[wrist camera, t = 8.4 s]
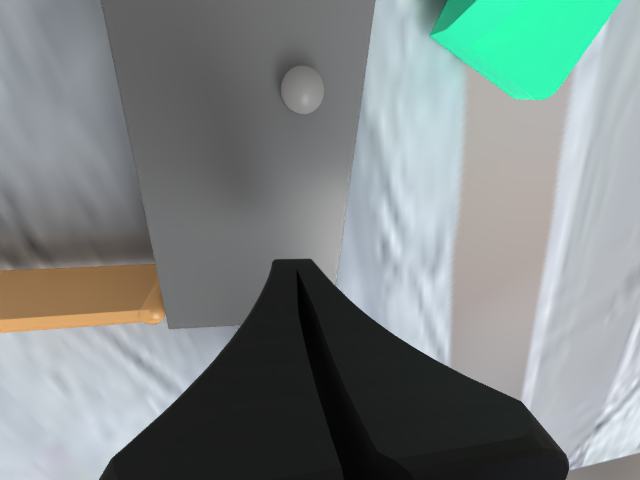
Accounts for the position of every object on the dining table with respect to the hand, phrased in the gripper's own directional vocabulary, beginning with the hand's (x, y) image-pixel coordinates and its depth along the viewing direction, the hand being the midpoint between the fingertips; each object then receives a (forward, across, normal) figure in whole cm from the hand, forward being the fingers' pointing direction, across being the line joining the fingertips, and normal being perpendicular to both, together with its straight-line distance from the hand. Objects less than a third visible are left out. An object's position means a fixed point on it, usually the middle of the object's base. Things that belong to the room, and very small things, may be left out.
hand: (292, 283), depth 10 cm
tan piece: (+9, +12, +5) cm, 16 cm away
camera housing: (+9, +2, -2) cm, 10 cm away
